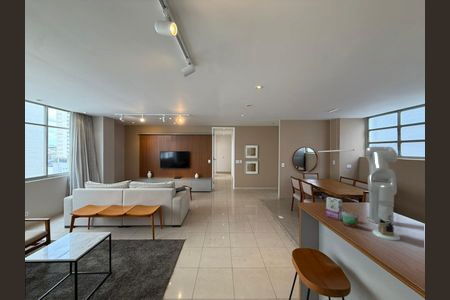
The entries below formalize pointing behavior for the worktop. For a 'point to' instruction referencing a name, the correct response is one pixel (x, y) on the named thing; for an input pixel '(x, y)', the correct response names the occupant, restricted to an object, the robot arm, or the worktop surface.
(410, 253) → the worktop surface
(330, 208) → the candy bar box
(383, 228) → the walnut block
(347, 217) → the food container
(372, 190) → the robot arm
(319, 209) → the worktop surface
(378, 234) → the dish
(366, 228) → the worktop surface
